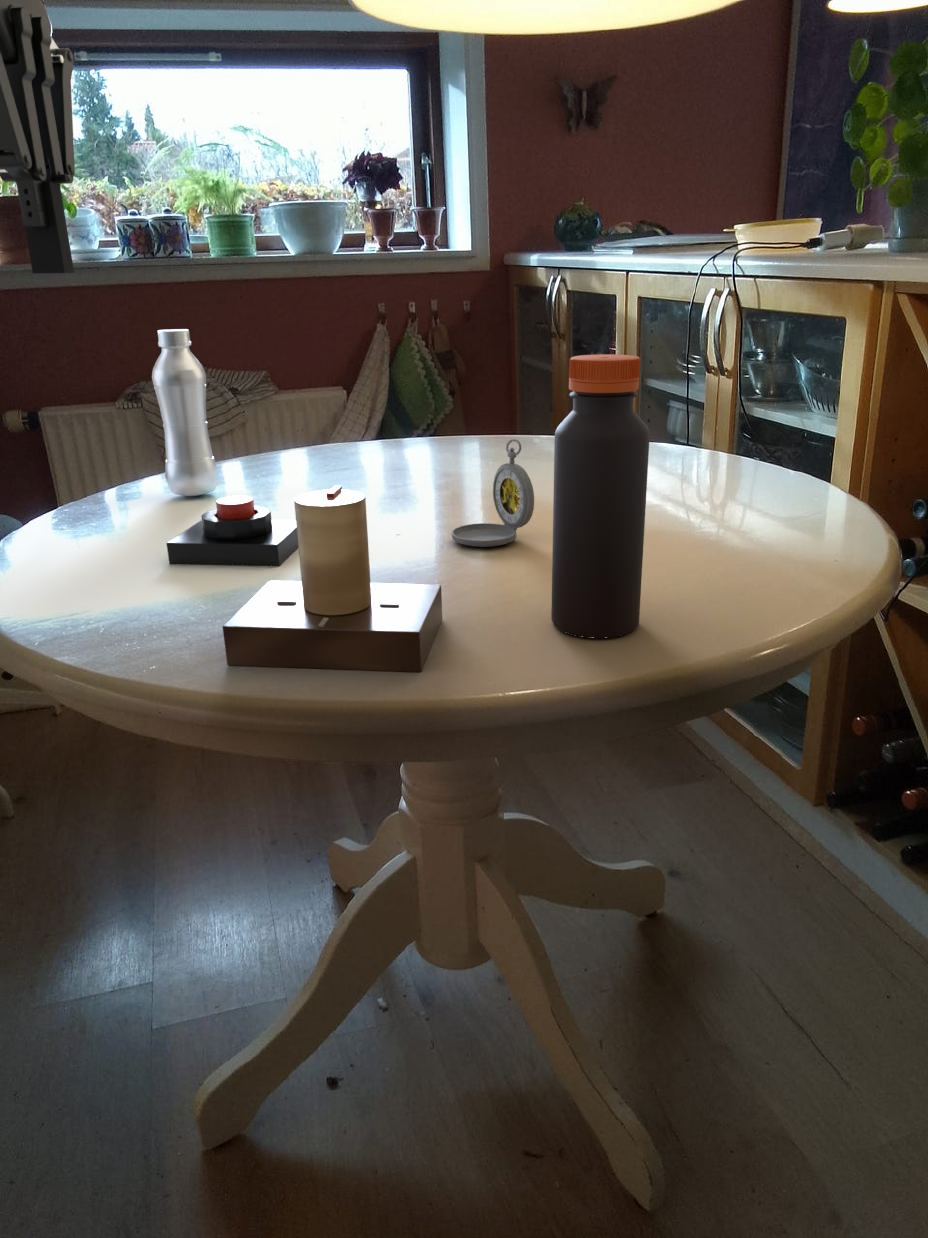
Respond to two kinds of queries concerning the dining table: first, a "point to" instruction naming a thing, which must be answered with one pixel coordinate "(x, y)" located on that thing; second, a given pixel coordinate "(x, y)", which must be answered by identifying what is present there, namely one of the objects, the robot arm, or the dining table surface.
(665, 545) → the dining table surface
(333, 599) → the wood knob
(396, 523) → the dining table surface
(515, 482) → the pocket watch
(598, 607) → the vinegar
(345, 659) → the knob panel
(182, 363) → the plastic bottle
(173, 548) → the button box
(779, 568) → the dining table surface
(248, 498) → the red button
